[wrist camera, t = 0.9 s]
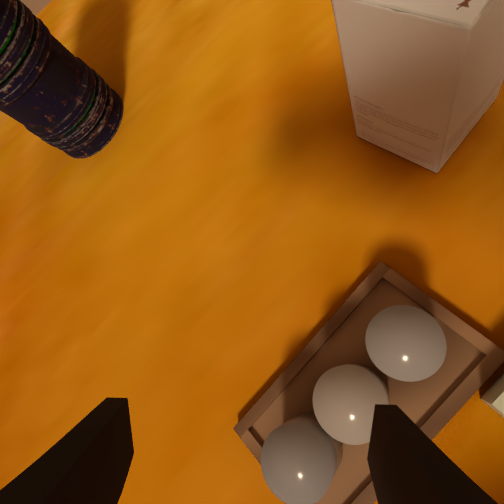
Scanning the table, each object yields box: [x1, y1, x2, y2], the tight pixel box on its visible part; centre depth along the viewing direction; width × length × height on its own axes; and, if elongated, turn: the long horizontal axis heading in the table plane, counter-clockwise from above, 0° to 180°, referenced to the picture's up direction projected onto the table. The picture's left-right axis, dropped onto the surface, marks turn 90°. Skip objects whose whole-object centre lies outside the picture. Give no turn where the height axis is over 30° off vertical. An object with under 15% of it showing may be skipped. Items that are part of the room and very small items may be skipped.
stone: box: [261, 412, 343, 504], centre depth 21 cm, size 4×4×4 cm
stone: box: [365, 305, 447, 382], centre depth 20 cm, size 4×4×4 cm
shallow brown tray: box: [233, 261, 504, 504], centre depth 23 cm, size 9×16×1 cm, turn 136°
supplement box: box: [331, 0, 504, 173], centre depth 21 cm, size 7×7×13 cm
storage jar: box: [0, 0, 123, 158], centre depth 35 cm, size 10×10×15 cm
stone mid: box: [313, 363, 390, 445], centre depth 21 cm, size 4×4×4 cm
